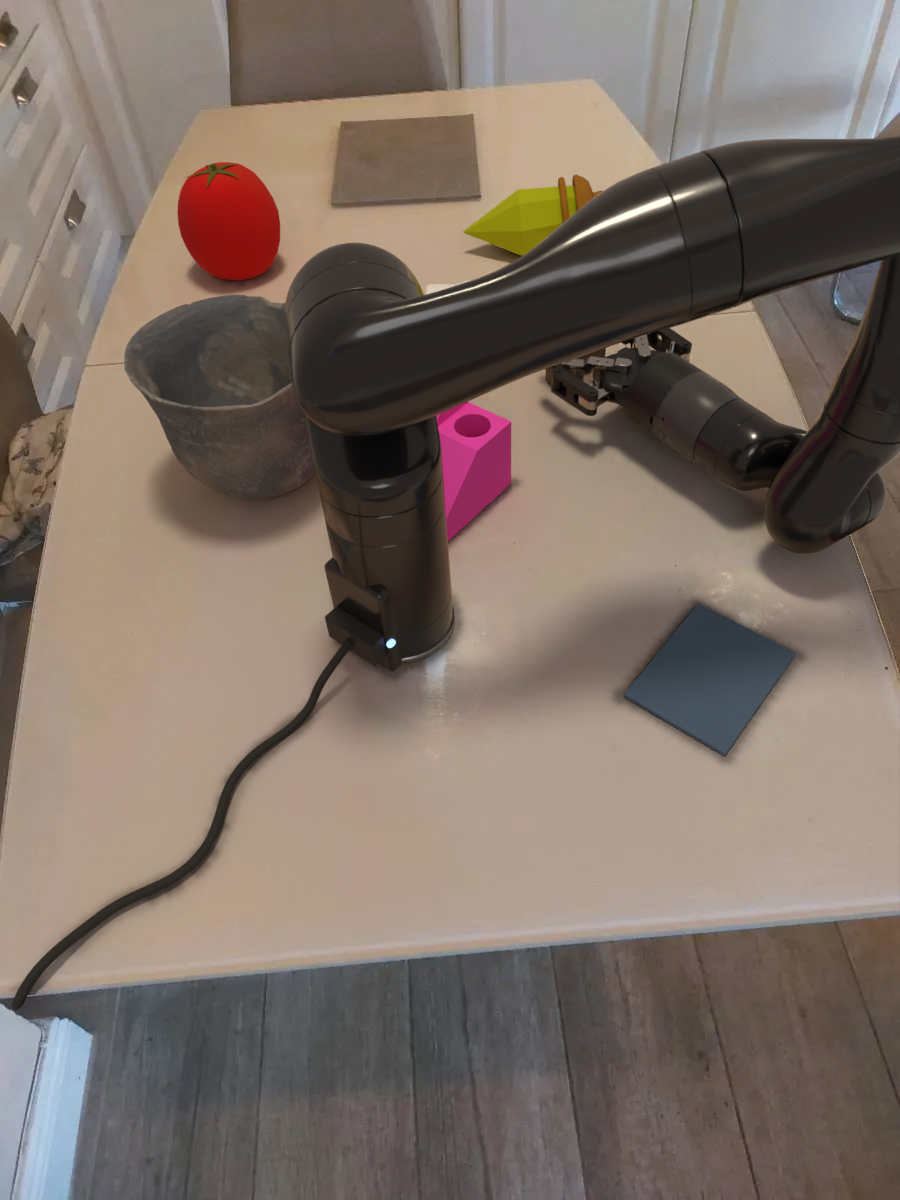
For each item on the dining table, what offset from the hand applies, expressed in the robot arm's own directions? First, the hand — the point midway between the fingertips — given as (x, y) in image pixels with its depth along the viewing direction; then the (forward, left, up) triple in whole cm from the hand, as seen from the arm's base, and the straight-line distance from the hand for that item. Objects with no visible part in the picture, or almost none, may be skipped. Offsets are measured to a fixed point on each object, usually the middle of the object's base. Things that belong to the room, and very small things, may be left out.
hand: (574, 334), depth 96 cm
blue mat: (-26, -31, -6) cm, 41 cm away
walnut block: (0, 0, -6) cm, 6 cm away
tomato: (-5, +49, -6) cm, 49 cm away
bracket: (-23, +1, -6) cm, 24 cm away
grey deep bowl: (-31, +18, -6) cm, 36 cm away
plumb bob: (+23, +18, -6) cm, 29 cm away
